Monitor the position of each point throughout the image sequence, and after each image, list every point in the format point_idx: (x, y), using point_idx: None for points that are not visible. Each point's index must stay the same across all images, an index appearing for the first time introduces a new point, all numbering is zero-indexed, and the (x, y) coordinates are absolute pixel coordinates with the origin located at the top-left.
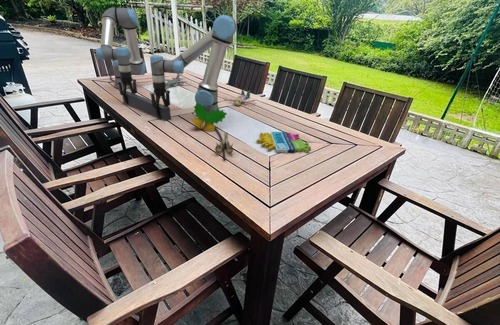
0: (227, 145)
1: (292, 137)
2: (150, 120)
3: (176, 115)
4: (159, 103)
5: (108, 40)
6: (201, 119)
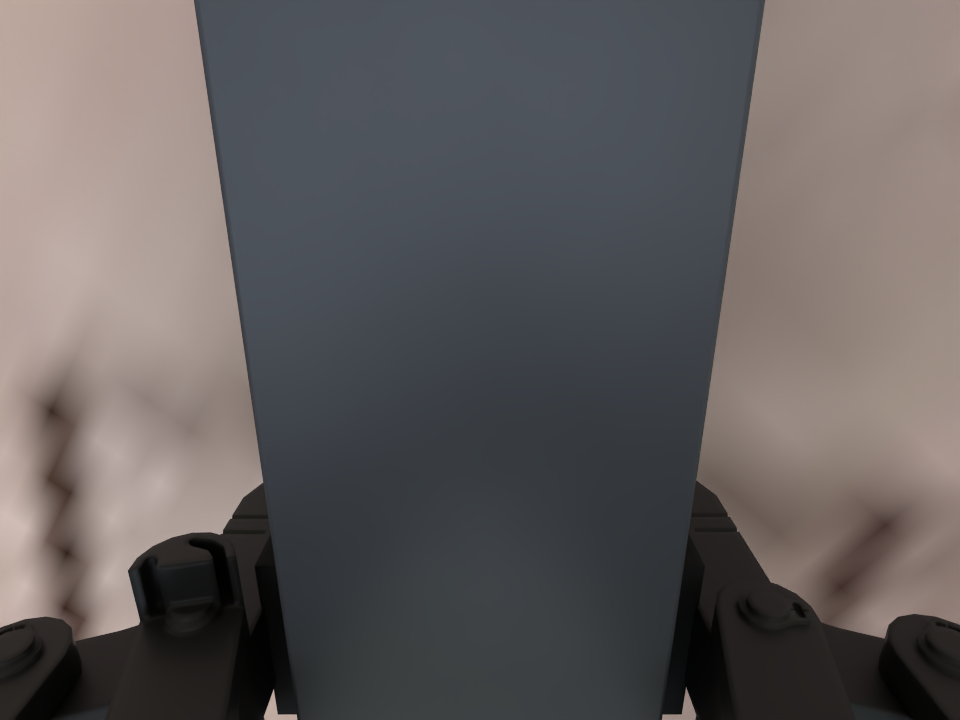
0: None
1: None
2: (123, 373)
3: (861, 486)
4: (713, 304)
5: None
6: None
